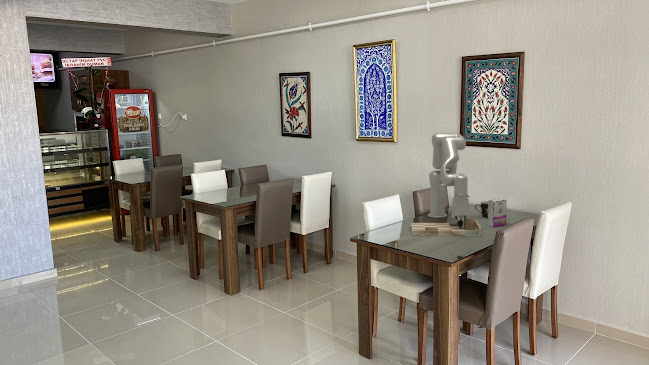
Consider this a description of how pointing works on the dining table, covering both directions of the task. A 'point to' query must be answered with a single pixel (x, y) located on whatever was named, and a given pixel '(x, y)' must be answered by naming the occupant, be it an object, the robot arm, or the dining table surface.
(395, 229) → the dining table surface
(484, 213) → the coffee mug
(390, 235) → the dining table surface
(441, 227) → the trap deck
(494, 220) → the candy bar box
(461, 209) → the robot arm
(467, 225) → the walnut block
